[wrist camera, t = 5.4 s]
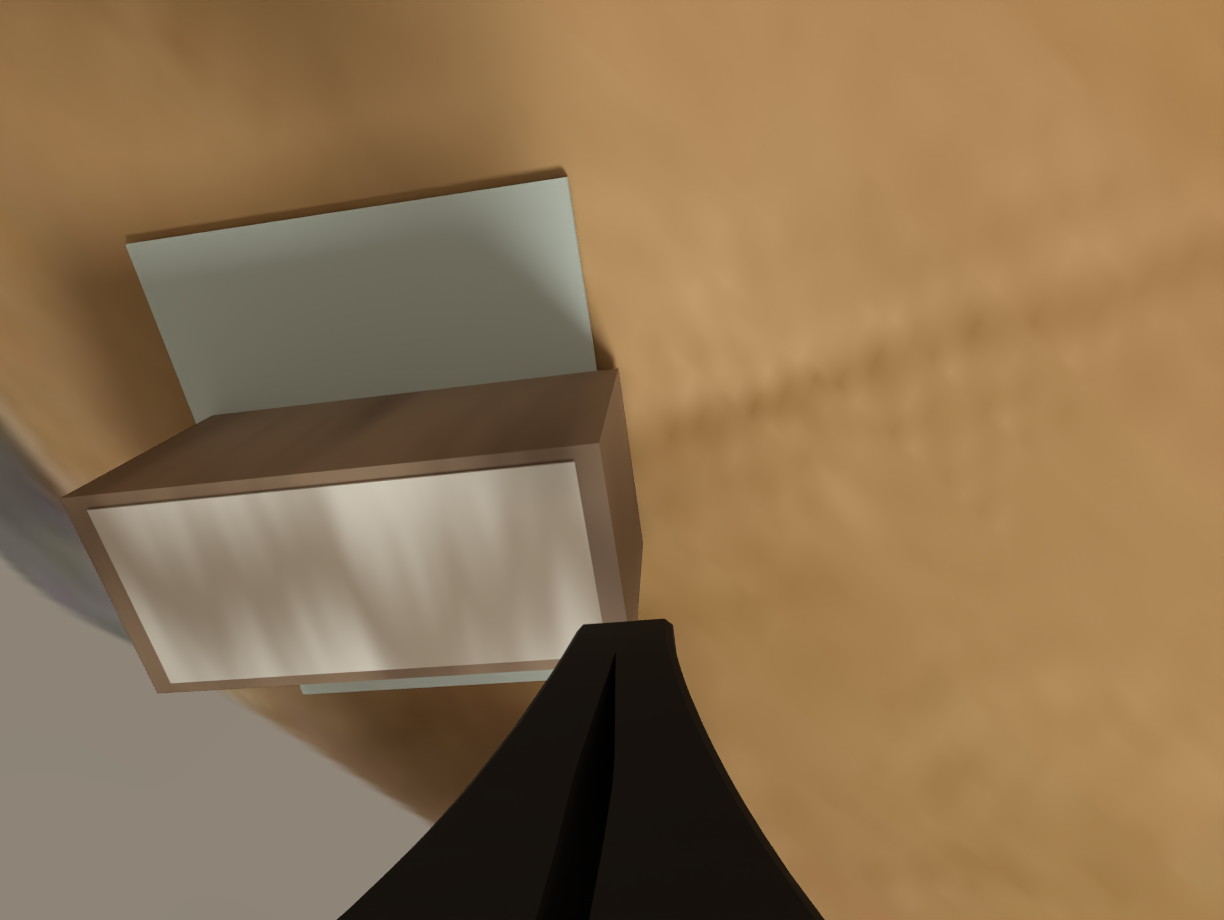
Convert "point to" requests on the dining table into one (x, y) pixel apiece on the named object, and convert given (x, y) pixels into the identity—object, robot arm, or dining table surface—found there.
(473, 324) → the pad
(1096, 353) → the dining table surface
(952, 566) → the dining table surface
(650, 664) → the robot arm
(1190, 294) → the dining table surface
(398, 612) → the walnut block
